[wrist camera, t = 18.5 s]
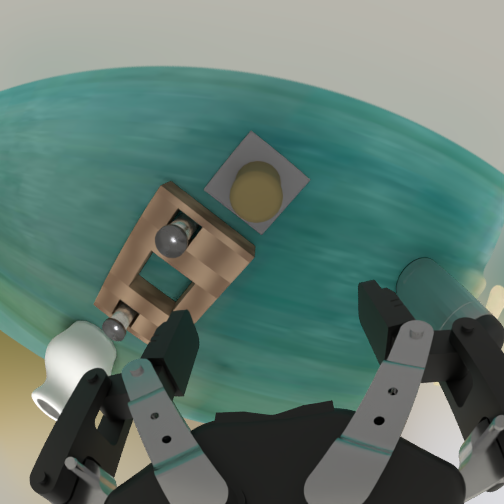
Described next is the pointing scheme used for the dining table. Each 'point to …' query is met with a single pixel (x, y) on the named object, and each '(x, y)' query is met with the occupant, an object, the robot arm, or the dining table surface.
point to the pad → (250, 152)
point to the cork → (256, 192)
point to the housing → (174, 263)
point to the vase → (72, 364)
